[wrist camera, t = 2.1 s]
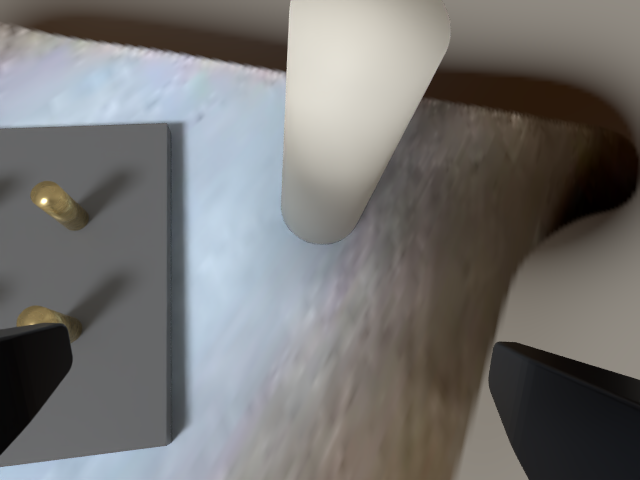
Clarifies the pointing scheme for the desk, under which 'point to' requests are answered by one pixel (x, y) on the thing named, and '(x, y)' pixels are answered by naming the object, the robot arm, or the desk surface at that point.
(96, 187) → the charcoal plate
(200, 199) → the desk surface
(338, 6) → the cream post
